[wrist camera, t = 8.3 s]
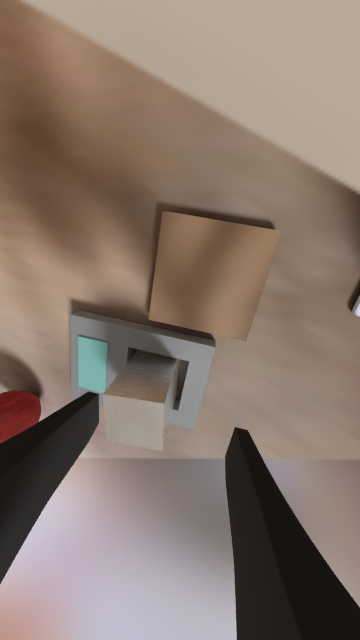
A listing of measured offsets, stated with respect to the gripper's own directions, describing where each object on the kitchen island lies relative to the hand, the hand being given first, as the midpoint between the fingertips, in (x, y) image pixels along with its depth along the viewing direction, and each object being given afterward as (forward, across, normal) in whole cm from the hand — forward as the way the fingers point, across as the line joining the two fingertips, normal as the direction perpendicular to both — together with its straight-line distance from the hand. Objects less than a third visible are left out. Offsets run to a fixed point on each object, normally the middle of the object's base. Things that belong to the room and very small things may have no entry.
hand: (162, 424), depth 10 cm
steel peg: (+10, +2, +4) cm, 11 cm away
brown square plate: (+10, -1, -7) cm, 12 cm away
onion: (+10, +18, +11) cm, 23 cm away
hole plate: (+10, +4, +4) cm, 11 cm away
